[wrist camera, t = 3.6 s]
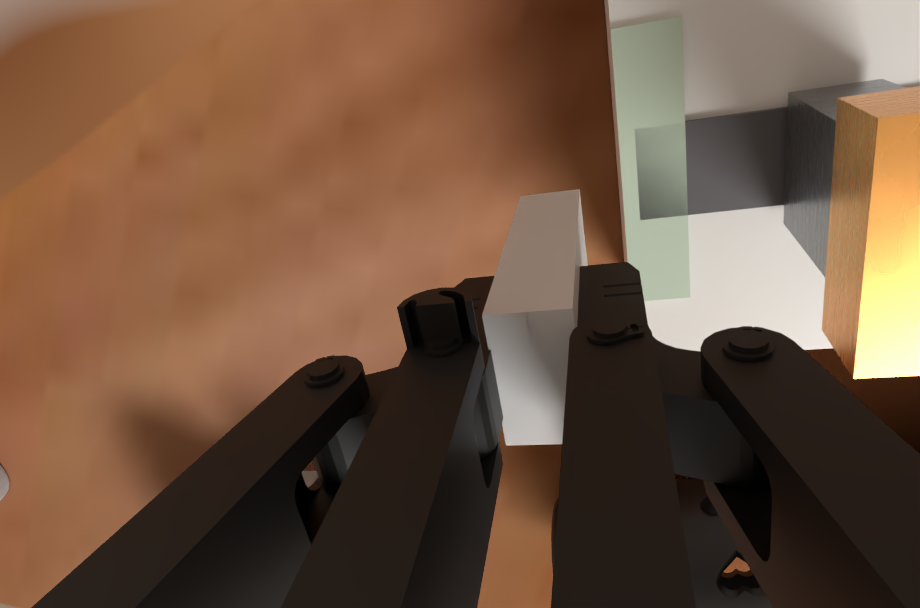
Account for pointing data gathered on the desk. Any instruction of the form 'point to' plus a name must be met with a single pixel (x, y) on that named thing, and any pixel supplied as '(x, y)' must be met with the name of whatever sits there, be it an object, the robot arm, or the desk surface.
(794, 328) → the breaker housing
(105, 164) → the desk surface
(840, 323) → the breaker toggle
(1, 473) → the coffee cup
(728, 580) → the muzzle brake
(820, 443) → the robot arm
